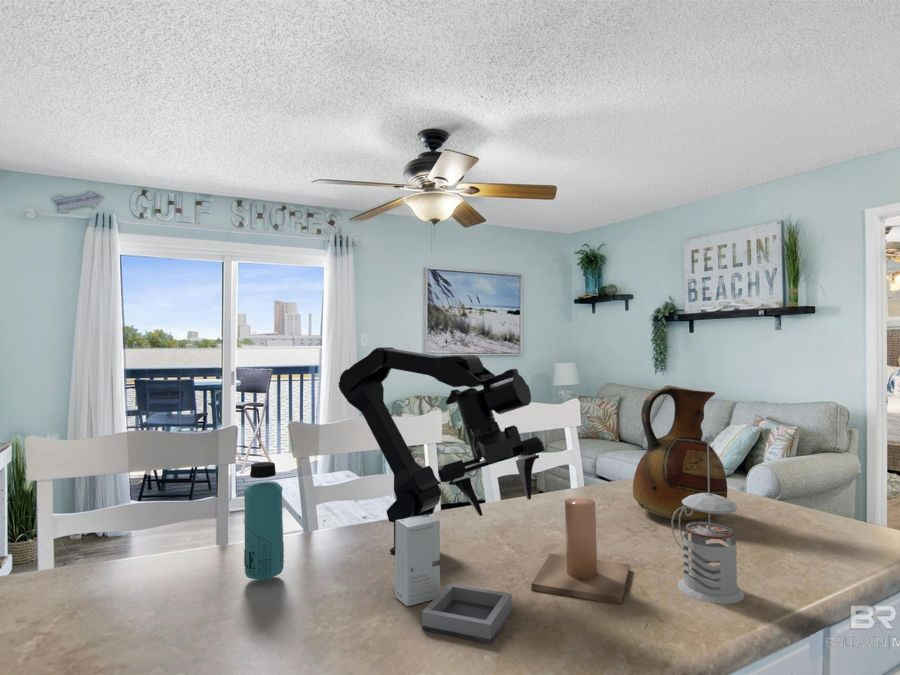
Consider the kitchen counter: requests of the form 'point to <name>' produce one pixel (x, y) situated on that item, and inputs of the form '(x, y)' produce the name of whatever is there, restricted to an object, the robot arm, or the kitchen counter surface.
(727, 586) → the french press
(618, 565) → the mat
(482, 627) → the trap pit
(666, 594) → the kitchen counter surface
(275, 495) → the beverage bottle
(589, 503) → the terracotta canister
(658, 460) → the ceramic pitcher
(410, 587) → the skincare box
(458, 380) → the robot arm
